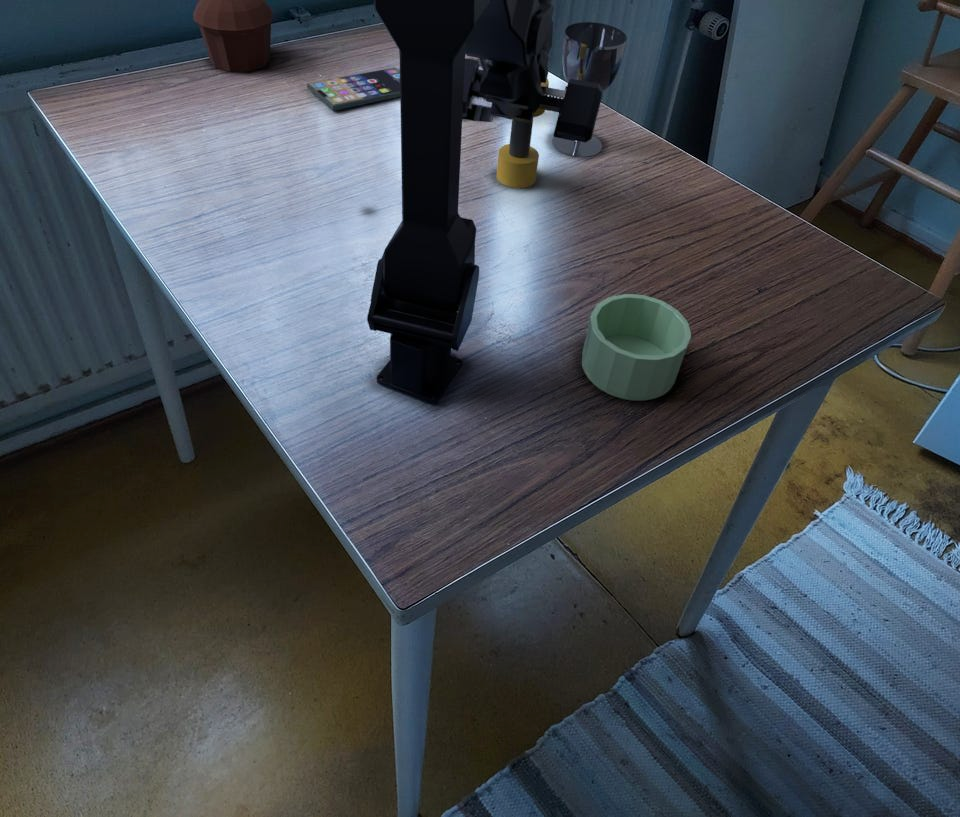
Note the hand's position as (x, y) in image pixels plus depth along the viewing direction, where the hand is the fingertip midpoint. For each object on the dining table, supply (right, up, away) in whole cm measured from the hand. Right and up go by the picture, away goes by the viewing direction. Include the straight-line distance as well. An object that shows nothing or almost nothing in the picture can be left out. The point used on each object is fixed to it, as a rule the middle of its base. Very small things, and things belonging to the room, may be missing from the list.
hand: (524, 124), depth 99 cm
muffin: (-43, +18, +22) cm, 51 cm away
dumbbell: (-1, -6, +4) cm, 7 cm away
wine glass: (+8, +1, +12) cm, 14 cm away
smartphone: (-23, +11, +18) cm, 31 cm away
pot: (+10, -32, -20) cm, 39 cm away
